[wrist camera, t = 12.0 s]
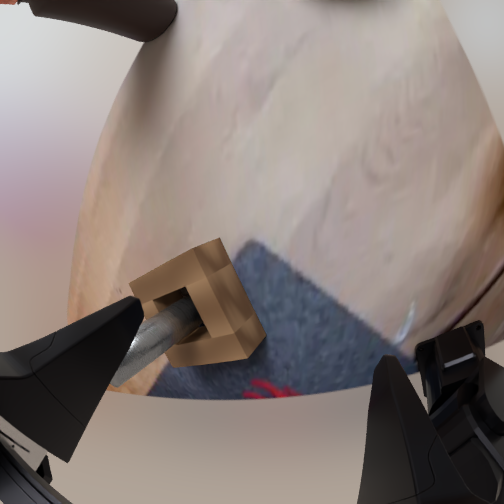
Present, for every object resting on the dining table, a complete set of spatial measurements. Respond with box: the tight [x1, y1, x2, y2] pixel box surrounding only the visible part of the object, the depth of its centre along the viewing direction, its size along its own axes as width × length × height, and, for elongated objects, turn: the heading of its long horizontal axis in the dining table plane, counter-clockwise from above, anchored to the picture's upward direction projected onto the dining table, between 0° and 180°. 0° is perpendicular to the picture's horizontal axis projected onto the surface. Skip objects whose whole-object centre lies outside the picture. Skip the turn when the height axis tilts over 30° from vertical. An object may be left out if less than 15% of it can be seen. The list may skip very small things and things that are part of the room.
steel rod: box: [110, 294, 203, 387], centre depth 21 cm, size 3×3×13 cm
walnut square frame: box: [129, 238, 266, 368], centre depth 25 cm, size 10×10×4 cm
